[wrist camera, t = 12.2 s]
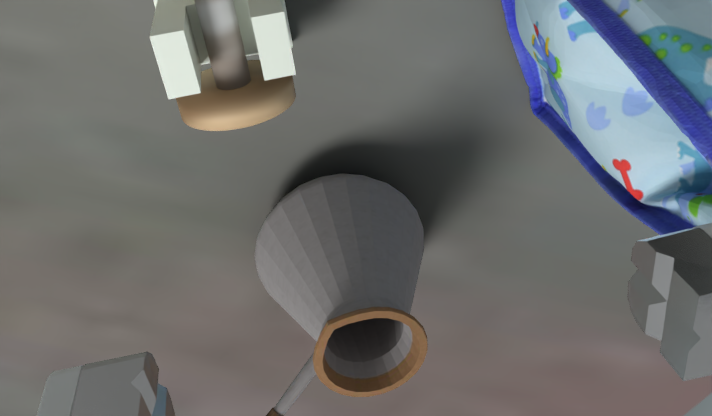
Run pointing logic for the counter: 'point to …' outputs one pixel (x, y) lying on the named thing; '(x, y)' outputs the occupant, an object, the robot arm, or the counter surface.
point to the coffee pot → (347, 282)
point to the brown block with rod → (231, 78)
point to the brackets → (188, 49)
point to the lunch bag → (626, 97)
